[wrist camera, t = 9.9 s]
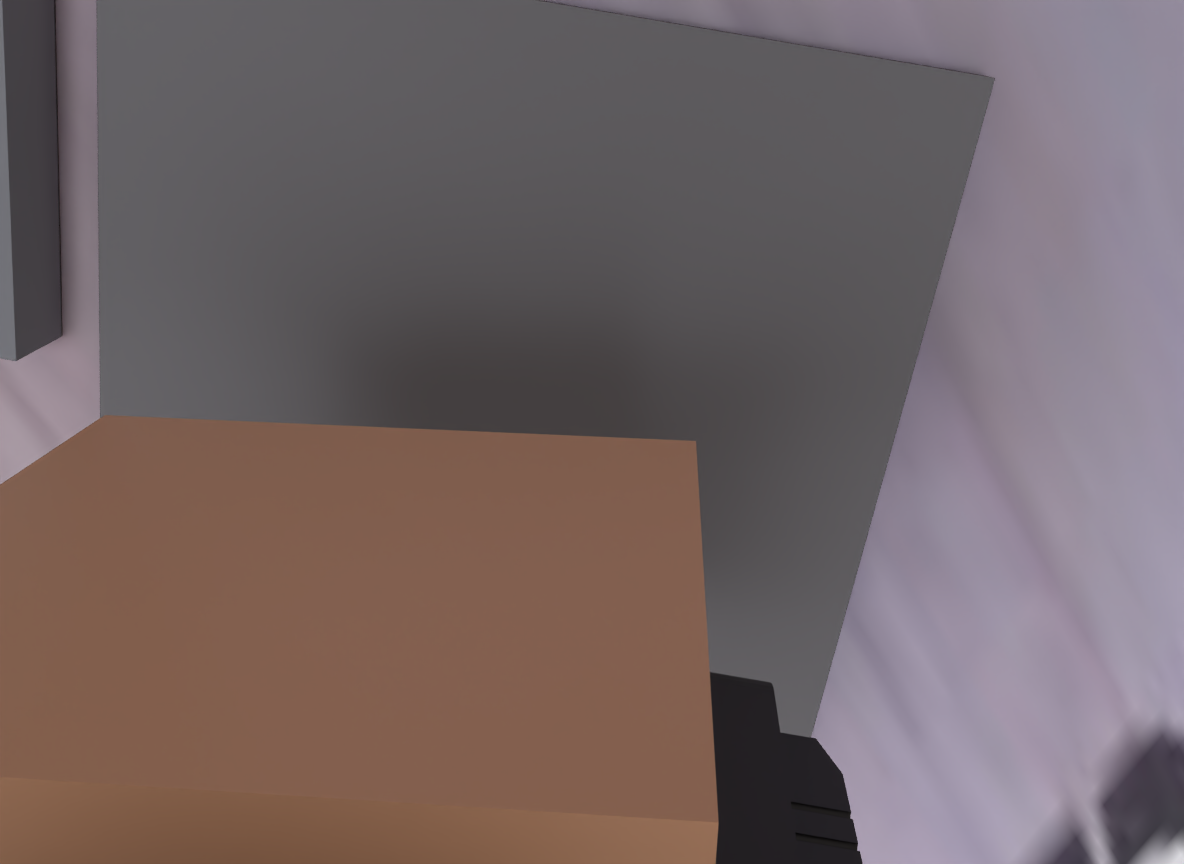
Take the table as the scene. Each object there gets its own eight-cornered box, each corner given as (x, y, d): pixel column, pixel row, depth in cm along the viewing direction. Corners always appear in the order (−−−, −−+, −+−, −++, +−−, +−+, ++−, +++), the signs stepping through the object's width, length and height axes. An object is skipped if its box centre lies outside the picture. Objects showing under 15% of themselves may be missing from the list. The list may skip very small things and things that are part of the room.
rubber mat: (114, -72, 17) (95, -75, 17) (984, 76, 17) (994, 78, 17) (116, 668, 23) (102, 685, 22) (789, 784, 23) (792, 804, 22)
